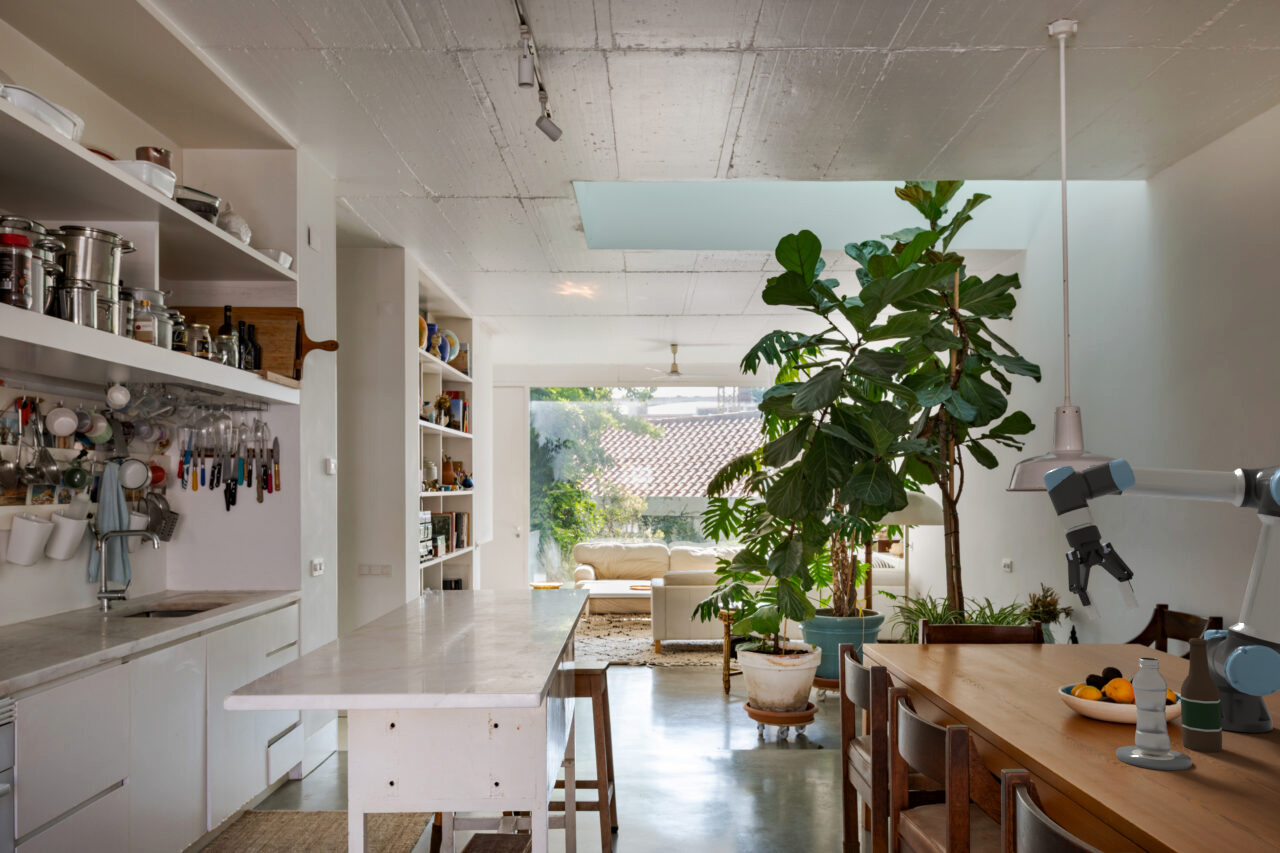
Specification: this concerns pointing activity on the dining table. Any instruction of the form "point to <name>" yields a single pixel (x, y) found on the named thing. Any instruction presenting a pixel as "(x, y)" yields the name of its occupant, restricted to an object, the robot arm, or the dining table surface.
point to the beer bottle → (1200, 703)
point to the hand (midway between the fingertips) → (1114, 613)
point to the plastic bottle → (1151, 708)
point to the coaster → (1153, 759)
